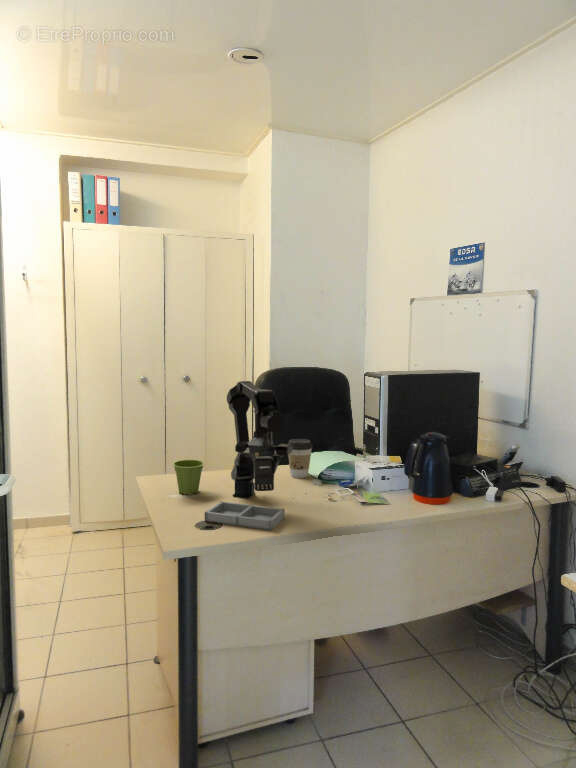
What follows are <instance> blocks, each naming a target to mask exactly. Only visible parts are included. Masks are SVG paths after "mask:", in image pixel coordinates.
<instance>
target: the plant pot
mask: <svg viewBox="0 0 576 768" xmlns="http://www.w3.org/2000/svg"><path fill="white" fill-rule="evenodd" d="M172 466H173V467H174V471H175V475H176V481H177V487H178V493H179V492H180V493H179V494H183V495H185V494H188V495H194V494H193V493H196V492H197V493H198V492H199V490H200V484H201V483H200V482H201V477H202V471H203V469H204V466H205V462H204V461H202V460H200V459H199V460H198V459H181V460H176V461H174V462H173V463H172ZM197 493H196V494H197Z"/></svg>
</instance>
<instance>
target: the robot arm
mask: <svg viewBox="0 0 576 768" xmlns="http://www.w3.org/2000/svg"><path fill="white" fill-rule="evenodd" d="M226 394H227V395H226V402H227V405H228V409H229V410H230V412H231V414H233V418H234V419H233V420H234V428H235V436H236V437H235V438H236V444H235V446H234V451H235V452H236V453H237V455H236V457H235V459H234V463H233V464H234V465H233V467H232V469H231V472H230V477H231V479H232V480H233V481H234V493H233V494H232V496H233V497H237V498H245V499H249V498H251V497H252V496H254V494H256V492H255V489H254V460H255V458H257V457H256V454H258V455H263V453H264V452H273V453H274V454H273V455H271V457H272V458H273V474H274V475H275V474H276V471H277V469H278V466H279V463H280V461H281V459H282V458H283V457H284V456H288V455H289V454H290V453H292V446H291V445H290V444H288V443H287V444H286V443H280V444H278V445H274V440H273V434H274V433H279V432H280V431H281V430H282V429H283V428H284V425H285V424H284V423H285V421H284V420H283V418H282V416H281V415H279V412H280V405H279V404H280V403H279V401H278V398H277V396H276V393H274V391H273V390H272V389H261V388H260V387H259V386H257V385H255V384H253V382H252V381H250V380H243V381H242V380H240V381H238V382H237V383H236V385H234V386H233V387H231V388H230V389H229V391H228V392H227V393H226ZM251 405H252V406H253V409H254V410H253V413H254V431H253V436H252V438H251V439H250V436H249V435H250V434H249V425H248V413H247V412H248V411H249V409H250V407H251Z"/></svg>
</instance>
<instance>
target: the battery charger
mask: <svg viewBox="0 0 576 768" xmlns="http://www.w3.org/2000/svg"><path fill="white" fill-rule="evenodd" d="M253 483H254V491H256V492H267V491H268V492H271V491H274V490H275V474H273V457H272V456H258V457H256V458H255V460H254V479H253Z"/></svg>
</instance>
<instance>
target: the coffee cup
mask: <svg viewBox="0 0 576 768" xmlns="http://www.w3.org/2000/svg"><path fill="white" fill-rule="evenodd" d="M287 444H290V445H291V446H292V453H290V454H289V455H287V456H288V462H289V471H290V473H289V474H290V477H292V478H295V479H303V478H304V477H305V478H307V477H308V475H309V471H310V464H311V456H312V449H313V448H314V447H313V444H312V443H311V440H309V439H306V438H294V439H293V438H291V439H289V440H288V443H287ZM305 478H304V479H305Z"/></svg>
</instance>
